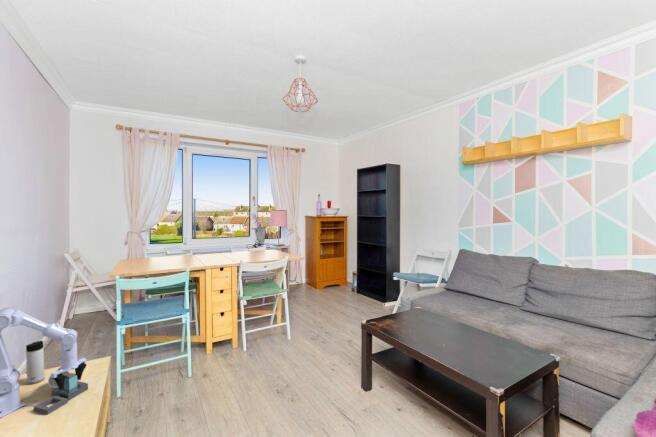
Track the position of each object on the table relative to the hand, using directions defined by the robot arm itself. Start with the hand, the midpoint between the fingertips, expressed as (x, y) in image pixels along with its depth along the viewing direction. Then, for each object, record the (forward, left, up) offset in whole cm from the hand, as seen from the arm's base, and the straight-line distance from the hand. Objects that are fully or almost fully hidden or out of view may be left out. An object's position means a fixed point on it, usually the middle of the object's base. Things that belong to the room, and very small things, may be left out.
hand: (70, 384), depth 145 cm
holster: (-9, -2, -4) cm, 11 cm away
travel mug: (+3, +26, -5) cm, 27 cm away
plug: (0, 0, -4) cm, 4 cm away
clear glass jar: (+4, +13, -1) cm, 14 cm away
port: (0, 0, -4) cm, 4 cm away
